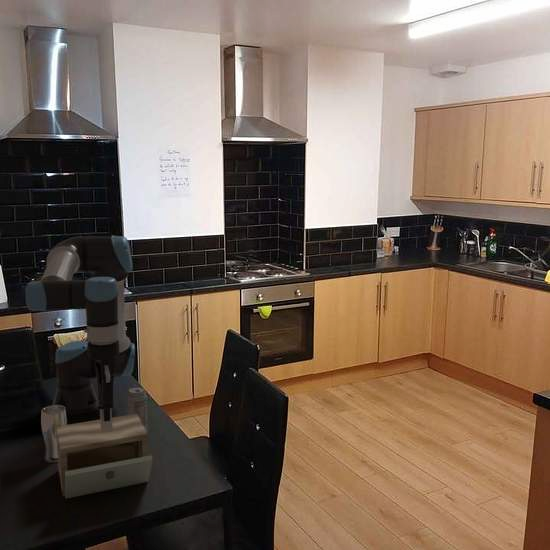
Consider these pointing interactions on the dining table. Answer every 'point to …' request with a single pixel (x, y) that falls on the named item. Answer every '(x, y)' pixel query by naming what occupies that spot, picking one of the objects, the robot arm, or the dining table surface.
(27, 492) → the dining table surface
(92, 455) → the cabinet
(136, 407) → the energy drink can
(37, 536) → the dining table surface
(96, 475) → the door
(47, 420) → the beer glass
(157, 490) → the dining table surface
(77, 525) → the dining table surface
